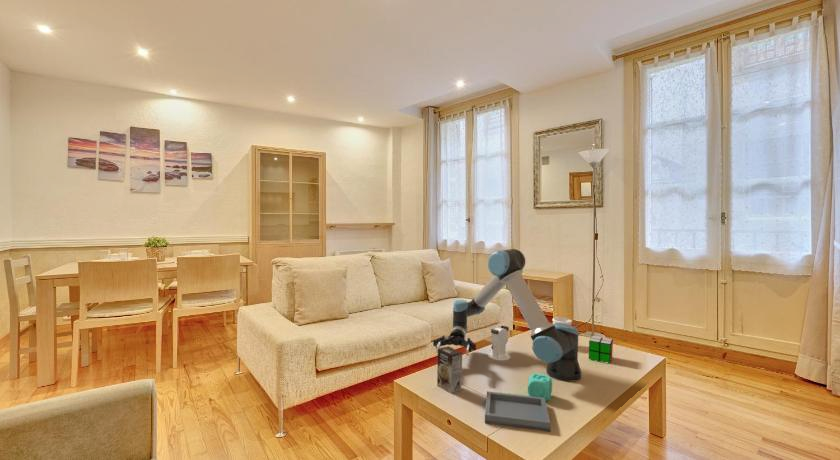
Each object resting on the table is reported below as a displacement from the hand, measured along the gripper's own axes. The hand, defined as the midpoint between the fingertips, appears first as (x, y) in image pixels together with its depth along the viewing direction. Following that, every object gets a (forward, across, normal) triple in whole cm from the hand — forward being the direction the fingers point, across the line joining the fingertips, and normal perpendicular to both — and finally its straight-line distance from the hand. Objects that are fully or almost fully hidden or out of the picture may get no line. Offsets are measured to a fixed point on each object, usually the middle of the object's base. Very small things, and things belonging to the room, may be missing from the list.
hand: (452, 351), depth 169 cm
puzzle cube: (-40, -72, -11) cm, 84 cm away
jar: (-55, -56, -12) cm, 79 cm away
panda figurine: (-30, -21, -12) cm, 39 cm away
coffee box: (+11, 0, -12) cm, 16 cm away
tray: (+26, -28, -11) cm, 39 cm away
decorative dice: (+10, -38, -11) cm, 40 cm away
